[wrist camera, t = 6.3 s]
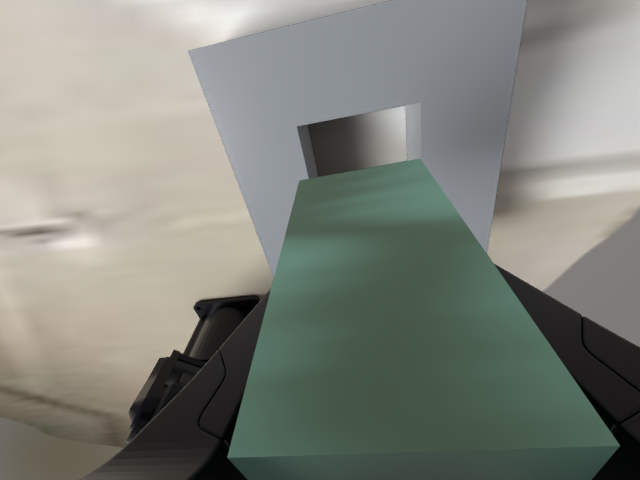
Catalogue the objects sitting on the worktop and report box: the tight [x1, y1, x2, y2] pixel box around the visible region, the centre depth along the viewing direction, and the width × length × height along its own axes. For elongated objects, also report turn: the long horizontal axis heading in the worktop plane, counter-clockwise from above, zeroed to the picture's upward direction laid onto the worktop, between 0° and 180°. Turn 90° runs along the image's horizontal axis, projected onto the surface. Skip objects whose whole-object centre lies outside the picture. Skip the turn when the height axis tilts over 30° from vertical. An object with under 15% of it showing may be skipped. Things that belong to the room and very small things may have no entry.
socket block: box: [188, 0, 527, 277], centre depth 17 cm, size 14×14×4 cm
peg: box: [227, 158, 620, 480], centre depth 7 cm, size 4×4×8 cm
